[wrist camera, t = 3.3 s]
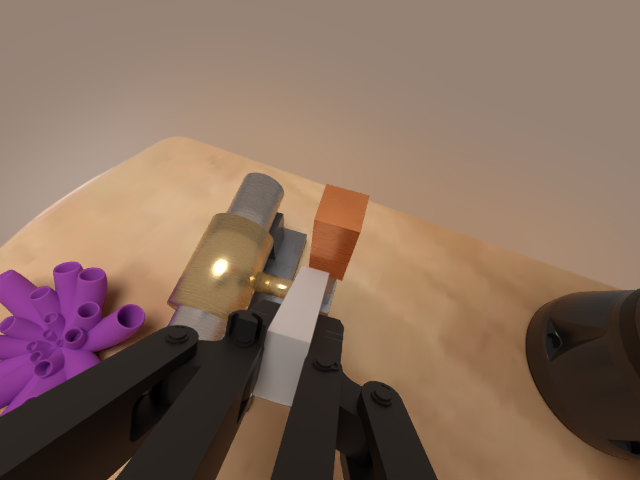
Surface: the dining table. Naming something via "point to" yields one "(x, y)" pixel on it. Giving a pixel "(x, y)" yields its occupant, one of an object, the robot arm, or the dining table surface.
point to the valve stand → (238, 261)
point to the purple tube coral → (56, 330)
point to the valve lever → (336, 235)
